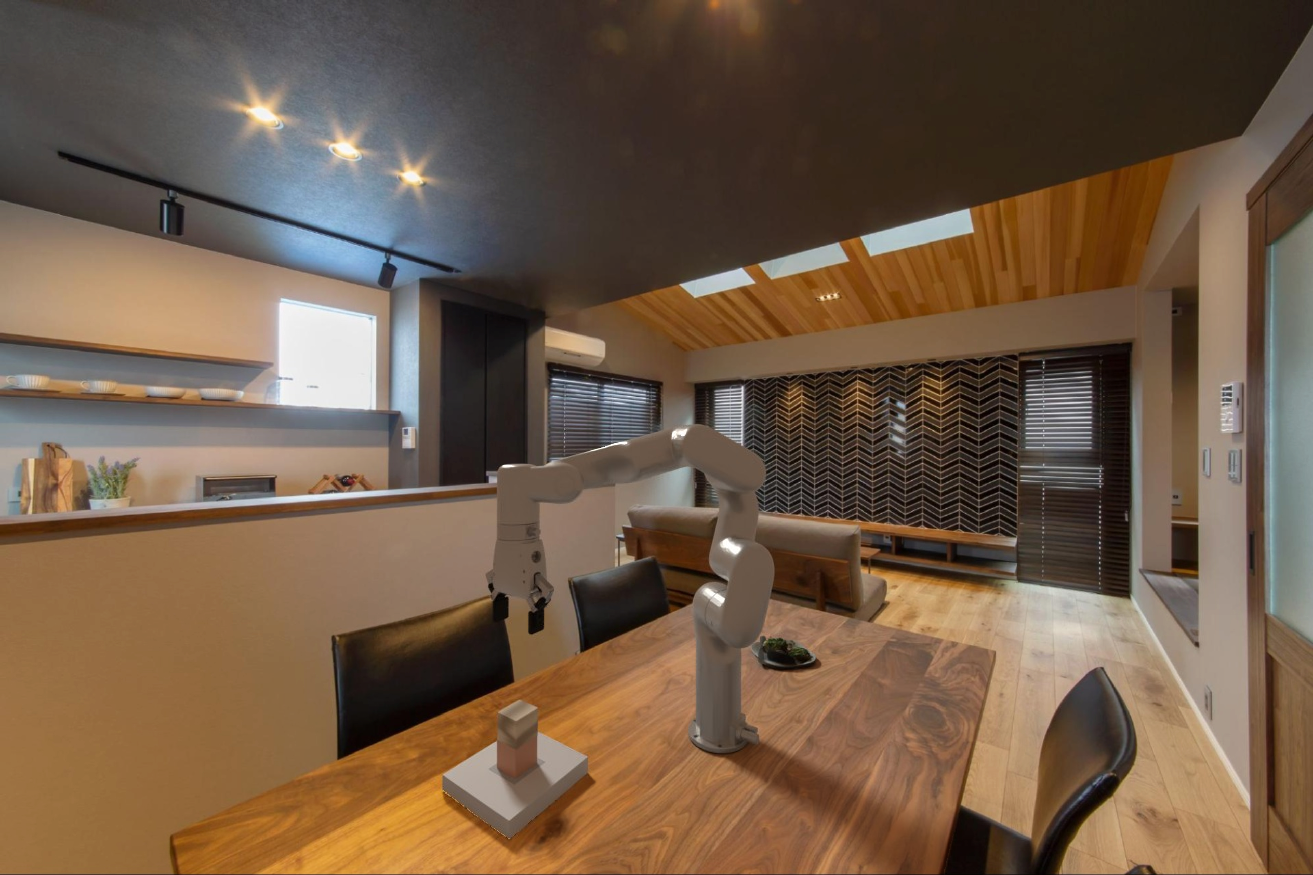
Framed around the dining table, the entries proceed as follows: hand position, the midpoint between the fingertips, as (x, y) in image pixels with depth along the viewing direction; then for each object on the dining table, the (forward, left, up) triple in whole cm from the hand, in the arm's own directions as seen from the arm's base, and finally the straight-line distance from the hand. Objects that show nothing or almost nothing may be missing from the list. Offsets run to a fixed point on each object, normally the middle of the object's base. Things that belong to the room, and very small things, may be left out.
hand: (517, 625), depth 86 cm
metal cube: (0, 0, -20) cm, 20 cm away
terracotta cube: (0, 0, -25) cm, 25 cm away
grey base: (0, 0, -28) cm, 28 cm away
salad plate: (-23, -76, -29) cm, 84 cm away
